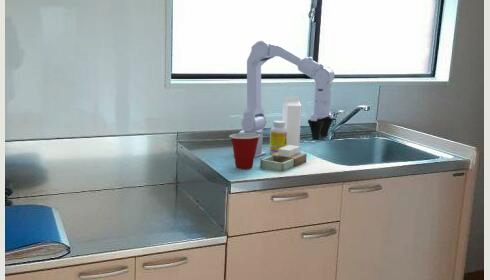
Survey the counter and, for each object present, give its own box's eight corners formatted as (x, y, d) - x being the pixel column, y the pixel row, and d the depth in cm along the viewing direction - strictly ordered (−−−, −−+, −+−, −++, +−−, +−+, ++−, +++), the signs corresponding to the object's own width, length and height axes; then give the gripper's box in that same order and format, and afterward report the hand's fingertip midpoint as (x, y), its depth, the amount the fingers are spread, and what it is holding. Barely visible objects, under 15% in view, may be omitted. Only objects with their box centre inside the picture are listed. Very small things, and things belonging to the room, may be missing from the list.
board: (270, 162, 199) (270, 154, 199) (282, 157, 208) (282, 150, 207) (294, 166, 194) (295, 158, 194) (306, 161, 203) (306, 153, 202)
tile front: (278, 155, 198) (278, 148, 197) (283, 153, 202) (283, 146, 201) (289, 157, 196) (289, 150, 195) (294, 155, 199) (294, 148, 199)
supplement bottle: (286, 155, 212) (288, 123, 210) (269, 154, 212) (271, 122, 210) (285, 151, 219) (287, 120, 216) (269, 151, 219) (270, 119, 216)
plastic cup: (238, 162, 197) (239, 130, 195) (264, 167, 192) (265, 134, 190) (222, 167, 188) (223, 134, 186) (248, 173, 183) (250, 138, 180)
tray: (259, 167, 191) (260, 159, 191) (271, 162, 199) (271, 155, 198) (282, 171, 187) (283, 163, 186) (293, 166, 195) (294, 158, 194)
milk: (298, 151, 220) (302, 98, 216) (284, 151, 218) (288, 97, 214) (293, 148, 226) (297, 96, 221) (279, 148, 224) (283, 95, 220)
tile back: (283, 153, 202) (284, 146, 201) (288, 151, 206) (289, 144, 205) (294, 155, 200) (295, 148, 199) (299, 152, 204) (300, 146, 203)
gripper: (325, 104, 186) (322, 142, 189) (339, 100, 199) (337, 136, 201) (306, 102, 190) (303, 139, 192) (322, 98, 202) (319, 134, 205)
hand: (319, 138), depth 197 cm, fingers open, 7 cm apart
